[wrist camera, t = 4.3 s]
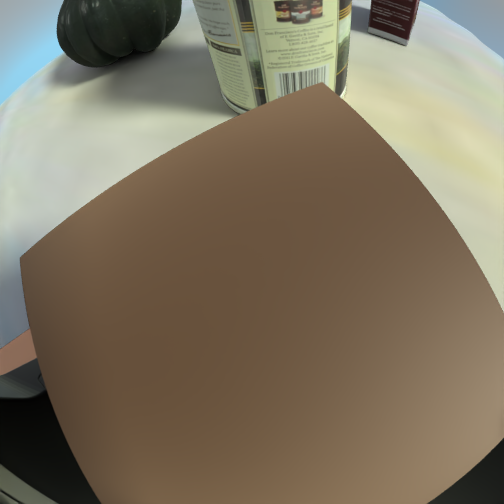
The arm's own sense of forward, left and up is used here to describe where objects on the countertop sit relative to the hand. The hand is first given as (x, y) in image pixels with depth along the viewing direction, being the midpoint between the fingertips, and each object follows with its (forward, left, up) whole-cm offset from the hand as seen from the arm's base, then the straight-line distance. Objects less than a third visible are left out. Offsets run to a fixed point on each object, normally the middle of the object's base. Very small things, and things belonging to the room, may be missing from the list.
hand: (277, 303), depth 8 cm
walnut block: (-1, +1, -7) cm, 7 cm away
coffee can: (+16, -9, -7) cm, 20 cm away
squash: (+36, 0, -7) cm, 36 cm away
